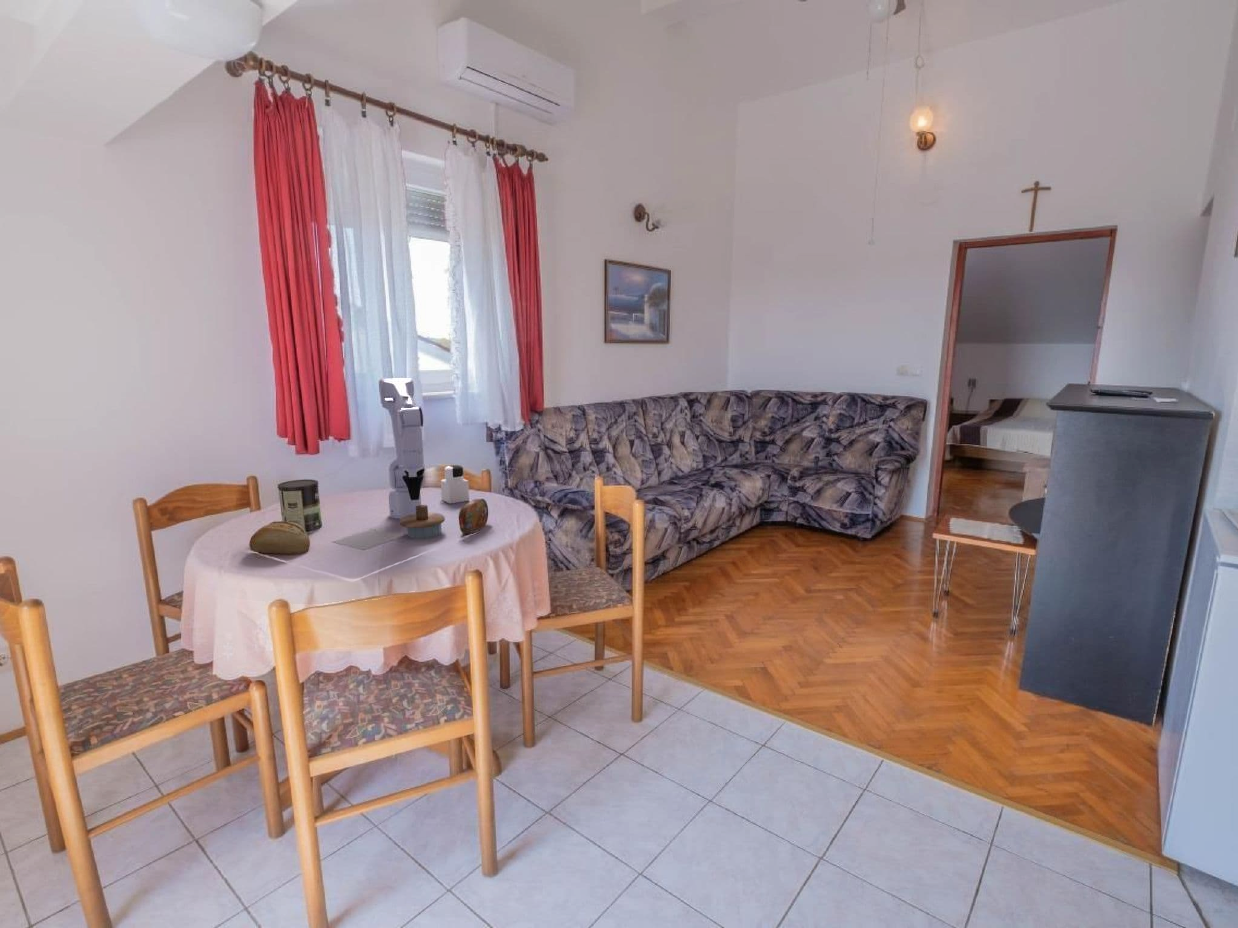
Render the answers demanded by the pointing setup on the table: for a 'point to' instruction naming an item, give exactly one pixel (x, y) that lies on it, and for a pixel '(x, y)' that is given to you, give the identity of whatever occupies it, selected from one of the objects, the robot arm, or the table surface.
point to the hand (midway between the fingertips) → (415, 496)
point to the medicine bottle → (454, 485)
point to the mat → (367, 539)
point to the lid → (422, 518)
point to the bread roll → (280, 538)
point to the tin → (473, 516)
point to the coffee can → (301, 503)
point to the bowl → (424, 532)
